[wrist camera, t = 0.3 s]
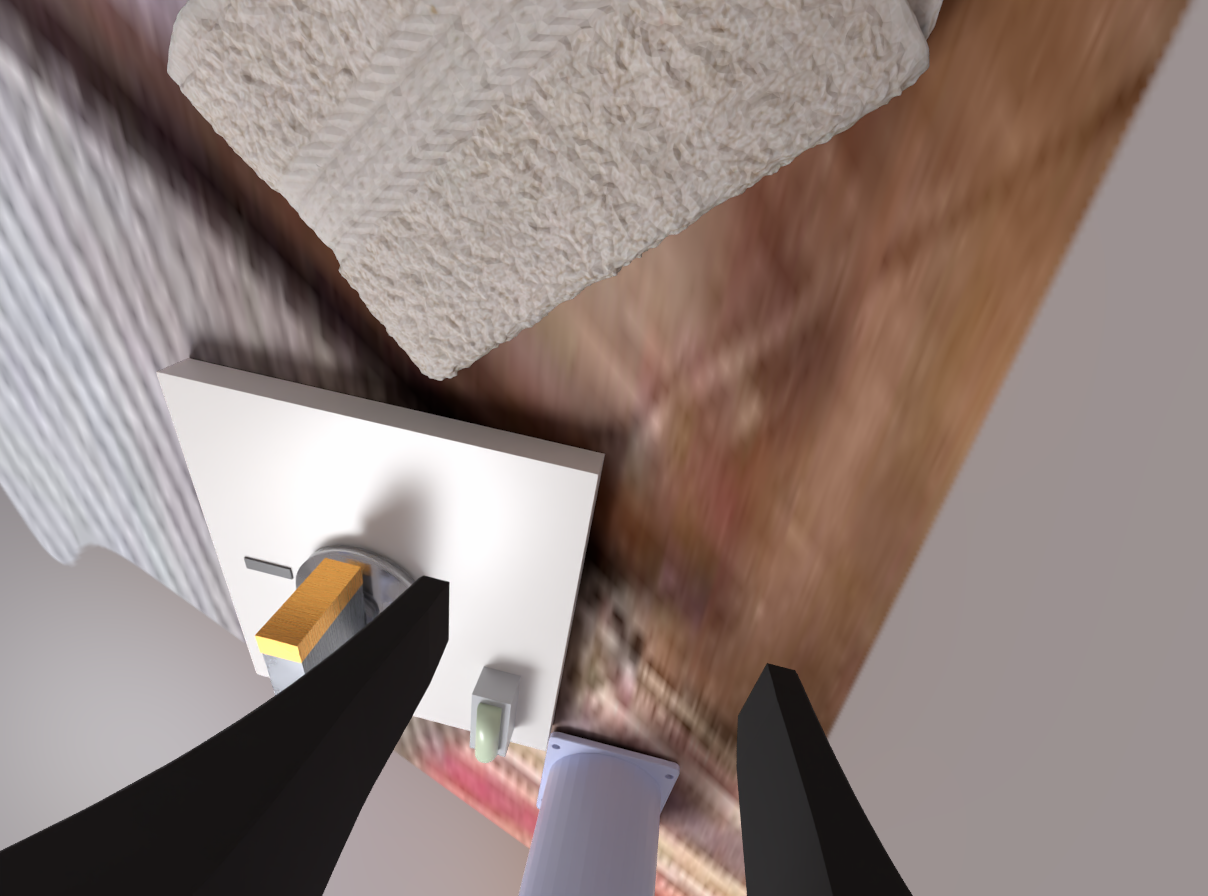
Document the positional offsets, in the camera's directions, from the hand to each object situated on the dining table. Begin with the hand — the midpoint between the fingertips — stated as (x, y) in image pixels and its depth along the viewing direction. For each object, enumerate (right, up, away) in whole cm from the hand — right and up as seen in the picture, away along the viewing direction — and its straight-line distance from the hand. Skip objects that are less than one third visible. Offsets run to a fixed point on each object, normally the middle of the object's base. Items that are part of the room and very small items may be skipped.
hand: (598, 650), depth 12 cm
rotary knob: (-11, -3, +14) cm, 18 cm away
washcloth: (-2, +16, +3) cm, 16 cm away
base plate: (-10, -2, +15) cm, 18 cm away
